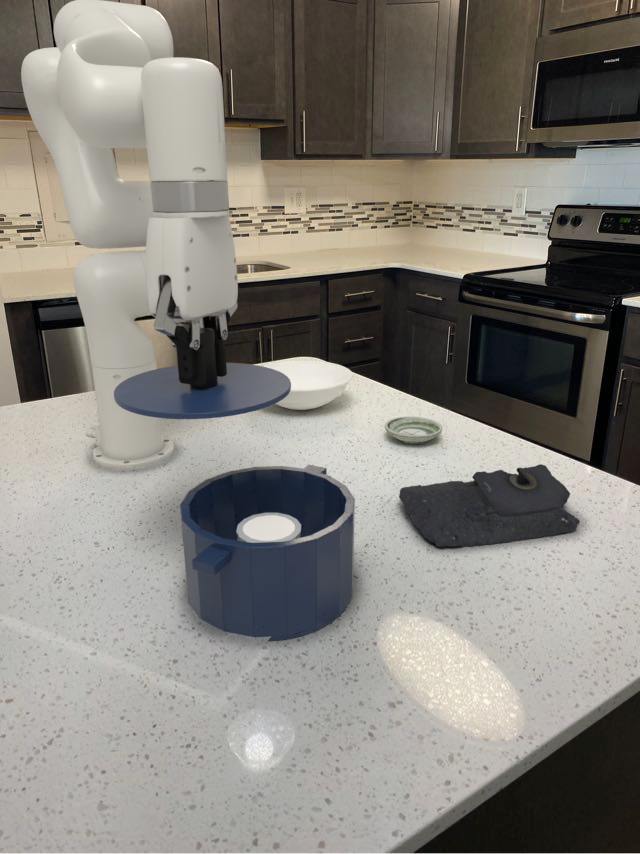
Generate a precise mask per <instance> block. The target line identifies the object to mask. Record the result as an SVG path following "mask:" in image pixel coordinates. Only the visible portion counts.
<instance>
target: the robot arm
mask: <svg viewBox="0 0 640 854" xmlns="http://www.w3.org/2000/svg"><path fill="white" fill-rule="evenodd" d="M53 36H54V41H55V45H56V46H57V47H45V48H44V47H43V48H38V49H35V50H33V51H31V52H29V53H28V54H27V55H26V56H25V57H24V58H23V61H22V64H21V70H20V76H21V85H22V90H23V96H24V100H25V103H26V107H27V111H28V113H29V115H30V118H31V120H32V122H33V125H34V126H35V129H36V130H37V133H38V134H39V136H40V138H41V139H42V142H43V143H44V145H45V147H46V148H47V150H48V152H49V153H50V156H51V158H52V160H53V162H54V165H55V169H56V173H57V177H58V178H57V179H58V181H59V185H60V189H61V194H62V198H63V202H64V206H65V210H66V214H67V218H68V222H69V225H70V228H71V231H72V233H73V236H74V238H75V239H76V241H77V242H78V243H79V244H80V245H81V246H83V247H85V248H89V249H96V250H97V249H98V250H100V249H101V250H103V249H106V250H107V249H109V250H110V249H127V248H144V247H145V250H122V251H121V250H119V251H106V252H98V253H94V254H90V255H87V256H85V257H84V258H82V259H81V260H80V261H78V263H77V264H76V265H75V266H74V270H73V274H72V281H73V287H74V291H75V295H76V299H77V301H78V305H79V310H80V312H81V315H82V319H83V320H82V321H83V323H84V328H85V333H86V337H87V344H88V350H89V351H88V352H89V359H90V364H91V371H92V379H93V386H94V394H95V401H96V410H97V418H98V420H93V421H92V422H91V423H90V426H89V428H87V429H86V431H85V436H86V437H87V438H91V439H92V438H93V439H96V446H95V447H94V449H93V451H92V459H93V461H94V462H96V463H97V464H98V465H100V466H103V467H108V468H114V469H115V468H116V469H134V468H141V467H146V466H149V465H150V466H151V465H154V464H157V463H159V462H162V461H164V460H166V459H168V458H169V457H170V456H172V454H173V453H174V451H175V443H174V442H173V440H172V439H170V438H168V437H166V436H164V429H163V418H156V417H149V416H144V415H139V414H136V413H132V412H129V411H127V410H125V409H123V408H121V407H120V406H119V405H118V404H117V403H116V402H115V399H114V390H115V388H116V387H117V386H118V385H119V384H120V383H121V382H123V381H125V380H126V379H128V378H130V377H133V376H135V375H138V374H141V373H144V372H147V371H151V370H155V369H158V366H157V365H158V364H157V355H156V348H155V345H154V343H153V341H152V339H151V337H150V335H148V333H146V332H145V331H144V330H143V329H142V328H141V327H140V326H138V324H137V323H136V322H135V320H136V319H137V318H142V317H146V316H152V317H154V322H153V329H154V330H155V331H157V332H159V333H161V334H163V335H166V336H167V338H168V339H169V340H170V341H171V345H172V347H173V348H175V349H176V359H177V365H178V373H179V381H180V382H181V383H184V384H190V385H197V386H203V385H205V384H206V382H207V379H206V365H205V352H204V348H199V347H200V328H211V329H214V332H215V348H216V363H217V376H219V377H223V376H225V375H226V374H227V367H226V363H227V354H226V353H227V352H226V340H227V338H228V335H229V334H228V333H229V332H228V326H229V324H230V322H231V318H232V317H233V315H234V314H235V312H236V311H237V309H238V298H239V297H238V296H239V295H238V294H239V284H238V267H237V257H236V249H235V242H234V235H233V229H232V224H231V219H230V201H229V200H230V199H229V198H230V197H229V183H228V166H227V165H228V163H227V145H226V129H225V128H226V127H225V126H226V125H225V107H224V91H223V89H224V87H223V81H222V80H223V78H222V75H221V72H220V71H219V69H218V67H217V66H216V65H215V64H214V63H212V62H210V61H207V60H204V59H200V58H195V57H194V58H193V57H178V56H177V57H174V50H175V49H174V40H173V34H172V31H171V28H170V26H169V23H168V22H167V20H166V18H165V17H164V16H163V15H162V14H161V12H159V11H158V10H156V9H155V8H153V7H151V6H148V5H143V4H134V3H126V2H118V1H111V0H72V1H70V2H67V3H66V4H65V5H63V6H62V7H61V8H60V10H59V11H58V12H57V14H56V16H55V19H54V22H53ZM112 149H146V155H147V167H148V176H149V180H125V179H123V178H121V177H120V174H119V171H118V167H117V162H116V158H115V155H114V152H113V151H112ZM183 325H187V326H188V329H187V328H186V327H185V326H183ZM187 330H189V332H188V331H187Z"/></svg>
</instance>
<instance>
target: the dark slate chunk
mask: <svg viewBox="0 0 640 854" xmlns="http://www.w3.org/2000/svg"><path fill="white" fill-rule="evenodd" d="M516 472H517V473H510V472H507V471H504V470H503V469H497V470H494V471H491V472H487V471H475V473H474V474H473V475H472V479H473V480H470V481H466V482H465V481H463V480H449V481H445V482H440V483H439V482H438V483H431V484H427V485H421V484H417V485H409V486H404V487H402V488H400V489H399V494H398V498H399V501H400V502H401V503H402V505H403V508H404V510H405V511H406V512H407V514H409V516H410V517H411V520H412V522H413V524H414V526H415V527H416V528H417V529H418V530H419V532H420V533H421V534H422V536H423V538H425V539H427V540H428V541H429V542H430V543H432V544H435V545H436V547H443V548H444V547H459V548H464V547H474V546H482V545H490V546H491V545H495V544H499V543H500V544H503V543H510V542H516V541H523V540H524V541H525V540H530V539H537V538H541V537H543V538H544V537H548V536H553V537H554V536H556V535H557V536H558V535H561V534H567V533H571V532H574V531H575V530H576V529H577V528H578V524H579V523H580V522H581V521H580V518H577V517H575V515H573V514H571V513H570V512H569V511H567V510H566V509H564V506H565V505H567V502H568V500H569V498H570V495H571V492H570V491H569V490H568V488H567V487H566V486H565V484H564V483H562V482H561V481H560V480H558V479H557V478H556V477H555V476H554V475H553V474H552V472H551V471H550V470H549V468H548V466H546V465H545V464H537V465H533V466H528V467H517V468H516Z"/></svg>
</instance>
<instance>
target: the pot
mask: <svg viewBox="0 0 640 854" xmlns="http://www.w3.org/2000/svg"><path fill="white" fill-rule="evenodd" d="M327 469H328V468H327V467H323V466H319V465H314V464H313V465H312V464H307V465H306V466H305V467H304V468H303V467H293V466H285V465H271V466H269V465H268V466H267V465H266V466H251V467H247V468H239V469H235V470H229V471H226V472H224V473H222V474H218V475H216V476H212V477H210V478H207V479H205V480H203V481H202V482H201V483H199V484H197V485H196V486H195V487H193V488H191V489H190V490H189V491H188V492H187V493H186V495H185V496H184V498H183V500H182V501H181V503H180V504H179V510H180V511H179V512H180V522H181V534H182V545H183V556H184V568H185V569H184V570H185V579H186V589H187V598H188V600H187V601H188V605H189V606H190V607H191V608H192V610H193V611H194V612H195V613H196V615H197V616H198V617H199V619H200V620H201V621H203V622H205V623H207V624H209V625H210V626H212V627H215V628H217V629H219V630H221V631H222V632H224V633H230V634H235V635H241V636H246V637H251V638H268V637H269V639H268V640H267V642H275V641H285V640H291V639H296V638H299V637H302V636H306V635H309V634H311V633H314V632H317V631H319V630H321V629H322V628H324V627H325V628H326V626H328V625H330V624H331V623H333V622H334V621H335V620H336V619H337V618H339V617H340V616H341V615H342V614H343V612H344V611H346V609H347V607H348V606H349V604H350V602H351V599H352V596H353V590H354V589H353V587H354V566H355V563H354V562H355V561H354V560H355V513H356V512H355V511H356V509H355V508H356V507H355V506H356V499H355V497H354V496H353V494H352V493H351V491H350V489H349V488H348V486H347V485H345V484H344V483H342V482H340V481H339V480H337V479H336V478H334V477H332V476H331V475H328V474H327V473H328V472H327V471H328V470H327ZM261 513H282V514H286V515H290V516H292V517H294V518H296V519H297V520H298V521H299V523H300V524H301V534H300V538H297V539H293V540H288V541H284V542H260V543H250V542H243V541H238V539H237V533H236V530H237V526H238V524H239V523H240V522H241V521H243V520H244V519H245V518H248V517H250V516H252V515H256V514H261Z"/></svg>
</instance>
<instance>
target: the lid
mask: <svg viewBox="0 0 640 854" xmlns="http://www.w3.org/2000/svg"><path fill="white" fill-rule="evenodd" d="M186 330H187V331H188V332H189V329H186ZM199 348H204V352H205V365H206V379H207V382H206V384H205V385H203V386H197V385H190V384H184V383H181V382H180V381H179V373H178V364H177V365H172V366H171V365H170V366H166V367H165V366H164V367H159V368H157V369H155V370H151V371H147V372H144V373H141V374H138V375H135V376H133V377H130V378H128V379H126V380H125V381H123V382H121V383H120V384H119V385H118V386H117V387H116V388H115V390H114V399H115V402H116V403H117V404H118V405H119V406H120V407H121V408H123V409H125V410H127V411H129V412H132V413H136V414H139V415H144V416H149V417H156V418H162V419H167V420H205V419H217V418H218V419H219V418H226V417H232V416H239V415H244V414H247V413H251V412H256V411H260V410H263V409H265V408H268V407H270V406H273V405H276V404H275V403H277V402H279V401H281V400H282V399H284V398H285V397H286V396H287V395H288V394H289V393H290V391H291V382H290V379H289V378H288V377H287V376H286V375H285V374H283V373H281V372H279V371H277V370H274V369H271V368H267V367H263V365H256V364H250V363H240V362H226V367H227V374H226V375H225V376H223V377H219V376H217V363H216V348H215V332H214V329H211V328H200V347H199Z"/></svg>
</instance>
